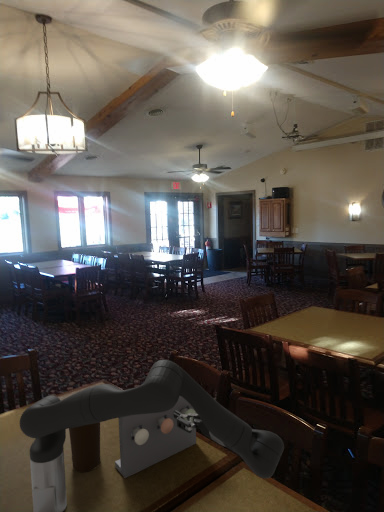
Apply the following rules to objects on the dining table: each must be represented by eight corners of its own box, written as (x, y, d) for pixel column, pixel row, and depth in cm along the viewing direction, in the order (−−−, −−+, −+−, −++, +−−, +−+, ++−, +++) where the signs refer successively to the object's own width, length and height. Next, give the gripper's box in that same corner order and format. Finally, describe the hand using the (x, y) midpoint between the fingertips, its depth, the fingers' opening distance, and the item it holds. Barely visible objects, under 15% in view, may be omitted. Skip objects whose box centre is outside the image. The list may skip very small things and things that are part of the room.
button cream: (149, 441, 121) (148, 427, 121) (135, 447, 118) (135, 432, 118) (139, 432, 126) (138, 419, 126) (126, 438, 123) (125, 424, 123)
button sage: (196, 420, 133) (195, 407, 133) (185, 425, 130) (184, 412, 130) (185, 413, 139) (185, 400, 138) (174, 418, 136) (174, 405, 135)
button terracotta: (173, 430, 127) (173, 416, 127) (161, 435, 124) (161, 421, 124) (163, 422, 132) (162, 409, 132) (151, 427, 129) (151, 414, 129)
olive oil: (88, 477, 122) (85, 405, 120) (64, 469, 126) (60, 399, 124) (108, 458, 131) (105, 391, 129) (84, 451, 136) (81, 386, 133)
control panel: (196, 443, 139) (194, 387, 137) (125, 478, 120) (122, 414, 119) (184, 434, 145) (182, 381, 143) (115, 466, 126) (112, 405, 125)
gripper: (236, 407, 109) (201, 390, 121) (201, 425, 100) (166, 404, 112) (237, 431, 109) (202, 412, 122) (202, 451, 100) (167, 428, 113)
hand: (185, 408), depth 117 cm, fingers open, 8 cm apart
